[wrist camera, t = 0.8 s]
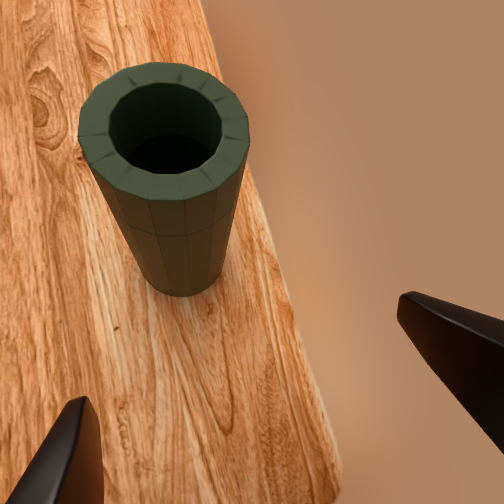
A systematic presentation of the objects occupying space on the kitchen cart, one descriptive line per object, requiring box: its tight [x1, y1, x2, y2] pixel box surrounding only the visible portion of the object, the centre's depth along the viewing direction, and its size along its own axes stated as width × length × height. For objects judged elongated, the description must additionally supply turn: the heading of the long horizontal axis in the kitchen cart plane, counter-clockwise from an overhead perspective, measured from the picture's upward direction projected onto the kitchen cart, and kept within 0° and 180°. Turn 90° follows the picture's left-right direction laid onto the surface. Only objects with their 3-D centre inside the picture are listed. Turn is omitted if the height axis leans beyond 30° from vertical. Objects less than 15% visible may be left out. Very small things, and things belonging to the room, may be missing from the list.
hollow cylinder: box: [77, 62, 250, 297], centre depth 19 cm, size 6×6×14 cm
